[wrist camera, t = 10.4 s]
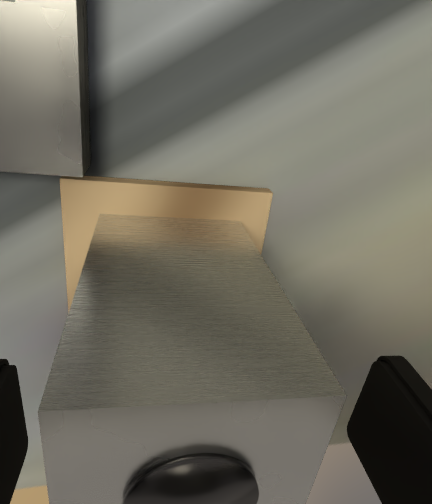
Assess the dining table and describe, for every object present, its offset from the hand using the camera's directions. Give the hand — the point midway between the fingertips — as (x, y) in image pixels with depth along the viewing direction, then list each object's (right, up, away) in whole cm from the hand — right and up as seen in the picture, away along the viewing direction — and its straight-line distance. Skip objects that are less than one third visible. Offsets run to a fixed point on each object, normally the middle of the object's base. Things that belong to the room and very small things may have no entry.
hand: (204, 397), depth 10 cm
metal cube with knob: (-2, +3, +6) cm, 7 cm away
